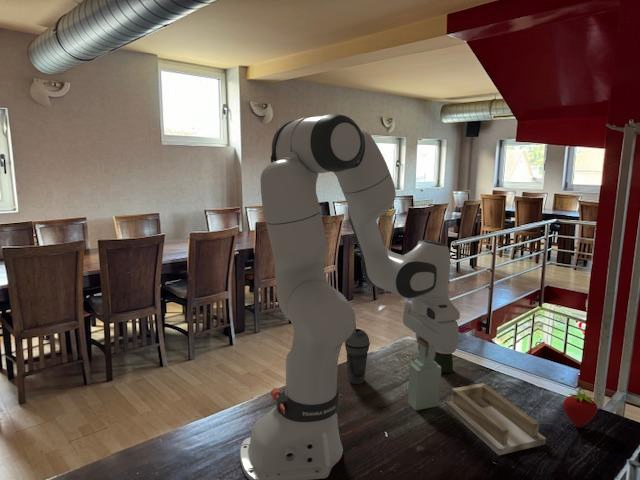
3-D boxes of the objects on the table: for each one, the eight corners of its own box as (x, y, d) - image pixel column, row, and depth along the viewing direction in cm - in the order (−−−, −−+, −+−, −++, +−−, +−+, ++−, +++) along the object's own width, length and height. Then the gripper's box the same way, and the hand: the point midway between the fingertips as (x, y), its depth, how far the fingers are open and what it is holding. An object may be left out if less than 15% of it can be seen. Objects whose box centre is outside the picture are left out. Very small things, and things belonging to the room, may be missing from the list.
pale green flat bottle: (415, 410, 114) (419, 344, 110) (407, 402, 117) (411, 338, 114) (438, 405, 116) (443, 341, 113) (430, 398, 120) (434, 335, 116)
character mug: (461, 377, 131) (465, 336, 129) (439, 379, 130) (442, 338, 127) (444, 361, 142) (447, 323, 139) (424, 363, 140) (426, 324, 138)
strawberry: (555, 419, 111) (560, 382, 109) (586, 420, 111) (591, 383, 109) (568, 433, 105) (573, 395, 103) (600, 434, 105) (605, 396, 103)
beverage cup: (367, 387, 124) (369, 320, 121) (341, 384, 126) (343, 318, 122) (369, 375, 132) (372, 311, 128) (345, 372, 133) (347, 309, 129)
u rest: (498, 455, 97) (500, 434, 96) (445, 407, 115) (447, 389, 114) (545, 444, 101) (547, 424, 100) (486, 399, 119) (488, 382, 119)
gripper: (398, 292, 120) (396, 340, 123) (441, 318, 101) (437, 373, 104) (418, 290, 122) (415, 337, 125) (464, 315, 103) (460, 370, 106)
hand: (426, 354), depth 114 cm, fingers closed on pale green flat bottle, 3 cm apart
